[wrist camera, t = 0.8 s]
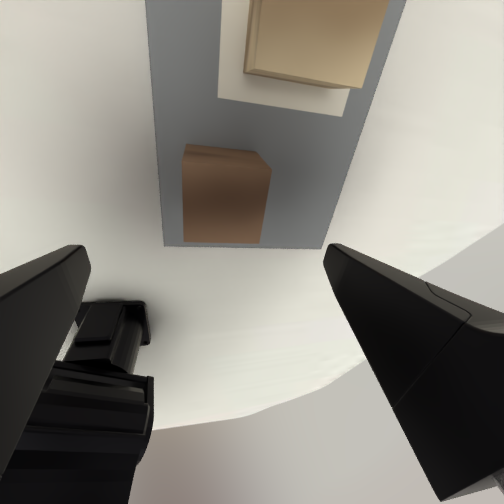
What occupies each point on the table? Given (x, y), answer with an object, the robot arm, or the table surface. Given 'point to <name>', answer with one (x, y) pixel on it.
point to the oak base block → (313, 40)
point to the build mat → (252, 118)
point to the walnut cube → (223, 194)
